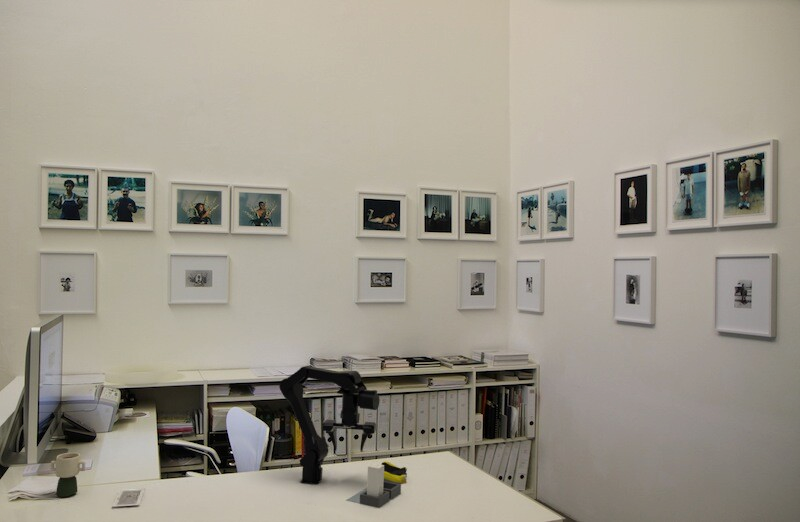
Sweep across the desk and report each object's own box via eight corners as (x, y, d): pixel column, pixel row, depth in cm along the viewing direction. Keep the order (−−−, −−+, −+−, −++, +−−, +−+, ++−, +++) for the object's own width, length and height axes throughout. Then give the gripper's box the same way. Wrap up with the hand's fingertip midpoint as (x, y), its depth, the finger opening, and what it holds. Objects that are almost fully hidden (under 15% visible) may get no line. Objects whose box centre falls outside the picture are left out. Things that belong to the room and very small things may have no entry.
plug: (366, 503, 207) (367, 466, 207) (372, 499, 210) (373, 463, 210) (378, 505, 205) (379, 468, 205) (383, 501, 208) (384, 465, 208)
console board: (345, 503, 208) (345, 491, 208) (368, 489, 223) (369, 477, 223) (379, 511, 202) (379, 498, 203) (401, 496, 217) (401, 484, 217)
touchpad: (144, 491, 213) (145, 485, 213) (139, 508, 199) (139, 501, 199) (120, 493, 211) (120, 486, 211) (112, 510, 197) (112, 503, 197)
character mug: (88, 491, 211) (89, 452, 211) (79, 499, 204) (81, 458, 204) (54, 491, 210) (56, 452, 210) (44, 498, 203) (46, 458, 203)
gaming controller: (377, 487, 225) (405, 489, 224) (378, 472, 225) (406, 473, 224) (381, 474, 240) (407, 475, 239) (381, 459, 240) (407, 461, 239)
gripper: (378, 403, 231) (377, 446, 231) (329, 400, 233) (327, 443, 233) (374, 410, 220) (373, 454, 220) (322, 407, 222) (320, 451, 222)
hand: (348, 450), depth 224 cm, fingers open, 9 cm apart
